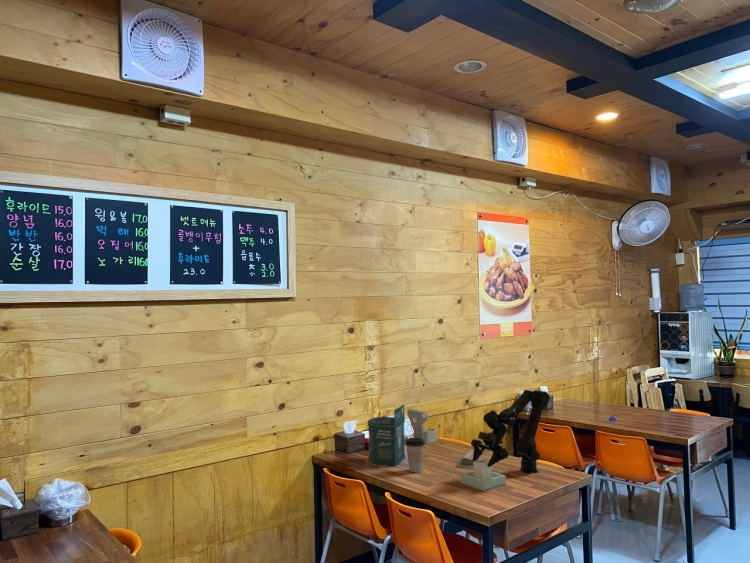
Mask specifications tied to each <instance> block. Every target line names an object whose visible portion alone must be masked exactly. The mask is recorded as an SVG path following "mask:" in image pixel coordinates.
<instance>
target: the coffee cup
mask: <svg viewBox="0 0 750 563" xmlns="http://www.w3.org/2000/svg"><path fill="white" fill-rule="evenodd" d="M404 445H406V454H407V456H406V457H407V462H408V467H409V468H408V469H409V470H408V471H409V472H410V473H412V472H415V473H414V474H419V473H421V472H422V471H423V465H424V464H423V462H424V453H425V449H424V448H425V445H426V443H425V442H424V441H423V439H421V438H409V439H407V438H406V441H405V442H404ZM418 472H419V473H418Z"/></svg>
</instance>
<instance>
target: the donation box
mask: <svg viewBox="0 0 750 563" xmlns="http://www.w3.org/2000/svg"><path fill="white" fill-rule="evenodd" d="M393 412H394V413H393V414H394V417H393V416H379V417H377V416H376V417H372V418H370V419H369V420H367V426H368V461H367V462H368V463H369V464H372V465H373V464H375V466H382V465H388V466H387V467H393V466H396V467H397V466H398V465H399V464H400V463H402V462H403V461H404V460H405V459H406V453H405V420H406V419H405V404H402V405H401V406H399V407H397V408H395V409H394V411H393ZM402 460H403V461H402ZM401 461H402V462H401Z"/></svg>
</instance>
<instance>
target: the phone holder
mask: <svg viewBox="0 0 750 563" xmlns="http://www.w3.org/2000/svg"><path fill="white" fill-rule="evenodd" d="M406 413H407V416H408V420H409V419H410V421H411V424H410V426H411V425H412V427H413V430H414V434H413V435H414V438H421V439H423V441H424V442H425V444H429V442H430V443H434V442H437V441H438V439H437V429H436V428H430V429H429V428H428V429H425V426H424V423H425V422H427V421H428V420H429V419H430V416H429V413H428V412H427V411H425V410H419V409H416V408H415V409H414V408H409V409H407V411H406ZM414 419H415V420H414ZM410 421H409V422H410ZM412 427H411V428H412Z"/></svg>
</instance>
